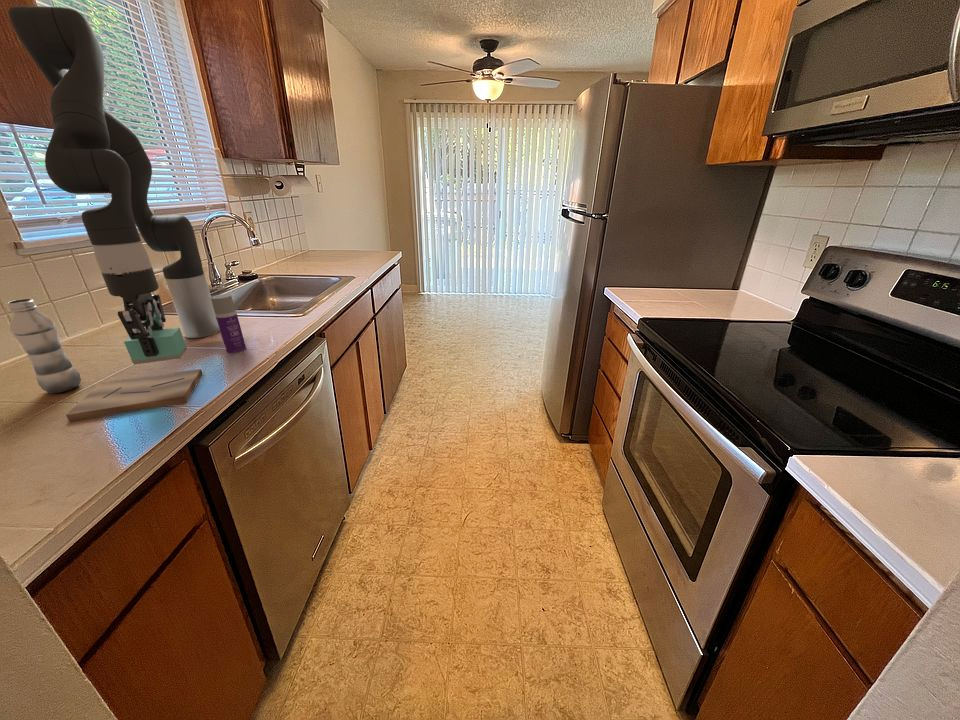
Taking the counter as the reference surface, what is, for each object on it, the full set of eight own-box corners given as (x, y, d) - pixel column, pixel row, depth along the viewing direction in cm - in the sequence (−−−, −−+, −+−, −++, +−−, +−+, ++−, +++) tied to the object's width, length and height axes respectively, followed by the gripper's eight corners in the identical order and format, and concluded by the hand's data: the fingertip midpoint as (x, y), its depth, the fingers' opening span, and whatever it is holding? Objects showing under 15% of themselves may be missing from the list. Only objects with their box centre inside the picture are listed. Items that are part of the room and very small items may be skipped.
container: (237, 355, 103) (221, 299, 97) (222, 354, 104) (205, 298, 98) (250, 348, 108) (235, 294, 101) (235, 347, 109) (220, 293, 102)
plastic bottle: (49, 399, 83) (0, 307, 75) (39, 391, 87) (-8, 302, 78) (89, 387, 88) (47, 299, 80) (78, 380, 92) (37, 295, 83)
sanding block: (143, 354, 84) (133, 332, 81) (187, 349, 86) (179, 327, 84) (133, 364, 79) (123, 341, 77) (180, 358, 82) (172, 335, 80)
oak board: (103, 388, 87) (100, 382, 87) (203, 374, 93) (201, 368, 93) (69, 421, 75) (65, 414, 75) (186, 402, 81) (183, 395, 81)
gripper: (118, 263, 80) (148, 341, 87) (82, 276, 68) (120, 367, 75) (163, 260, 82) (188, 337, 89) (135, 273, 70) (167, 361, 77)
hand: (157, 350), depth 82 cm, fingers closed on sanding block, 5 cm apart
